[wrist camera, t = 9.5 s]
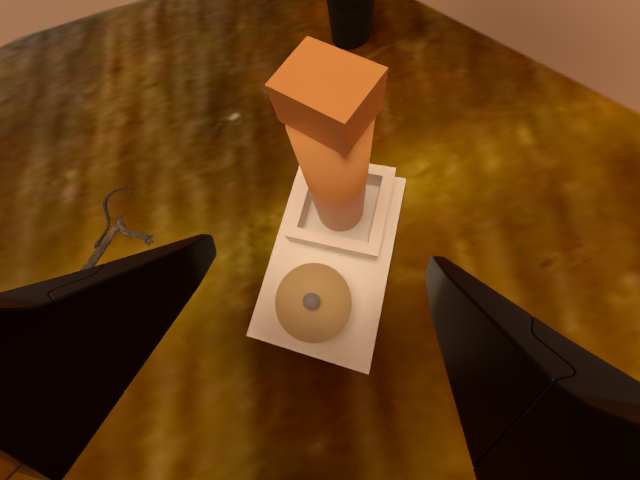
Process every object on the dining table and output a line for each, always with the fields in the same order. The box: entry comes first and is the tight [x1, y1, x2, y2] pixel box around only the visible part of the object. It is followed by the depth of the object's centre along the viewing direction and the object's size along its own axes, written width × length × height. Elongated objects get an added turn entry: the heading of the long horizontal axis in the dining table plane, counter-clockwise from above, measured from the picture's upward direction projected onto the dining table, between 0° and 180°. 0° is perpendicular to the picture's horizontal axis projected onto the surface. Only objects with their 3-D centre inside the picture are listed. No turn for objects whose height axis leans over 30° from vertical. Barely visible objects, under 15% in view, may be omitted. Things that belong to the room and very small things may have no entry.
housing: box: [246, 164, 406, 375], centre depth 20 cm, size 18×11×5 cm, turn 165°
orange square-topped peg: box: [265, 36, 388, 231], centre depth 16 cm, size 4×4×14 cm
